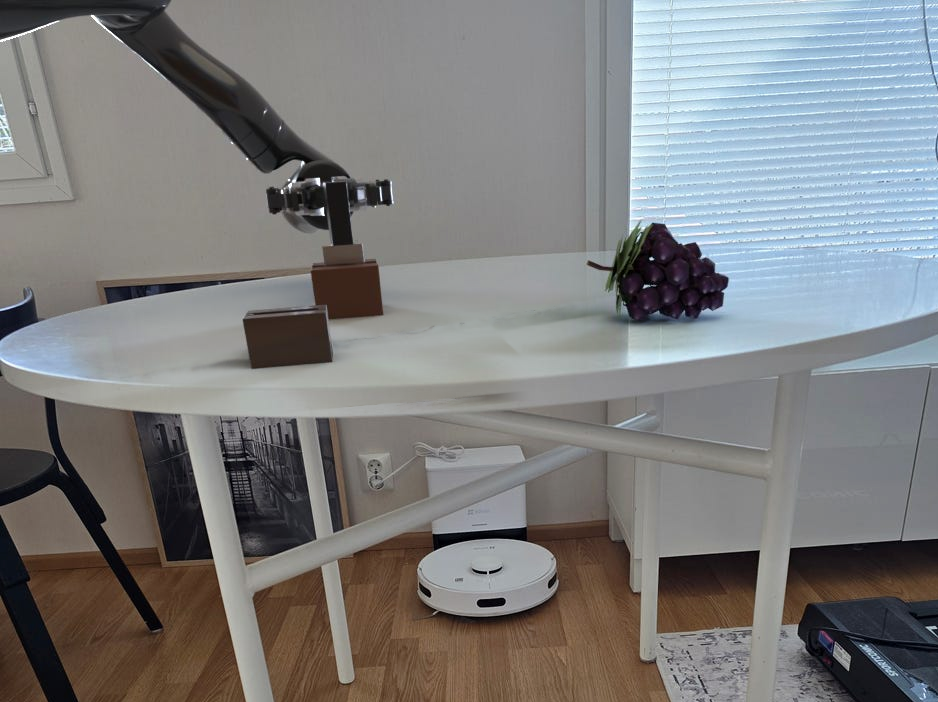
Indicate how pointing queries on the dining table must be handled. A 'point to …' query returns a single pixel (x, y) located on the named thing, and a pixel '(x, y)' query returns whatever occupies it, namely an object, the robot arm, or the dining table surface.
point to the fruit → (663, 276)
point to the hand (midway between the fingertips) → (334, 197)
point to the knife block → (288, 336)
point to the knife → (340, 228)
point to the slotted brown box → (348, 289)
